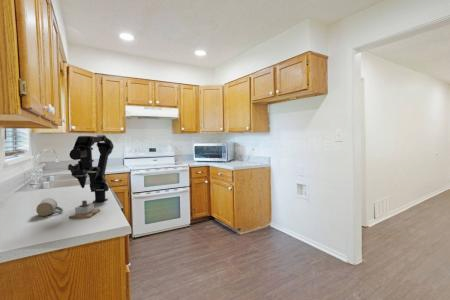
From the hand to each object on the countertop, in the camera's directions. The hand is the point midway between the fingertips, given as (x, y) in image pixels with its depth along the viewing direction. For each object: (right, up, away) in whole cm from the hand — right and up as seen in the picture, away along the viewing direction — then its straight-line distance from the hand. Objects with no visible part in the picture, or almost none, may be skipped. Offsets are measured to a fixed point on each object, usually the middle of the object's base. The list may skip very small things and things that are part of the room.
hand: (87, 186), depth 130 cm
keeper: (+6, -12, -12) cm, 18 cm away
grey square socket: (+6, -11, -12) cm, 18 cm away
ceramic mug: (-14, -13, -9) cm, 21 cm away
